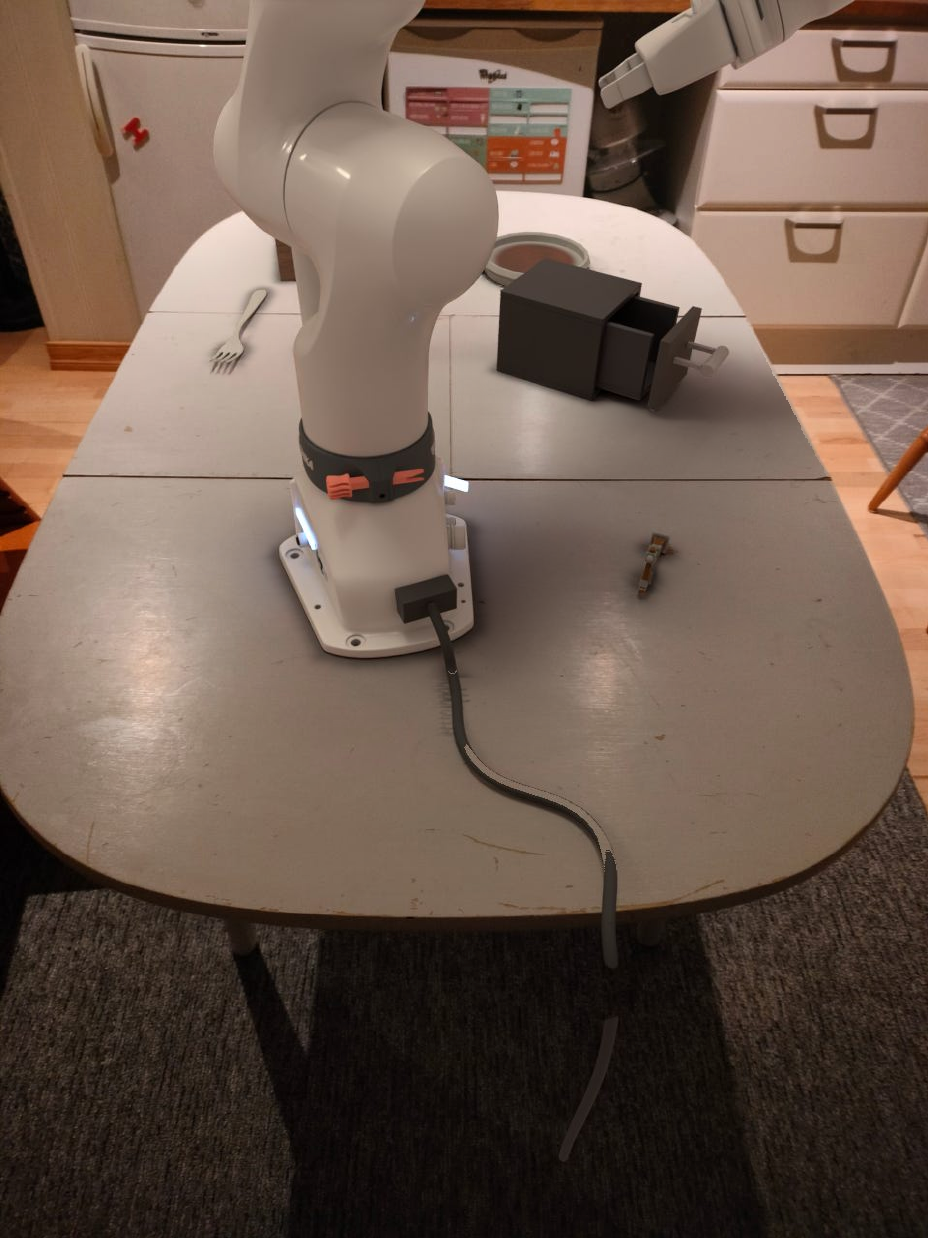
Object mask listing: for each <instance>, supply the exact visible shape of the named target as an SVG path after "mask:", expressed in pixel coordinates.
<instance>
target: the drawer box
mask: <svg viewBox="0 0 928 1238" xmlns="http://www.w3.org/2000/svg"><path fill="white" fill-rule="evenodd" d="M642 285H643V283H642V282H640V281H636V280H632V279H628V278H625V277H620V276H617V275H612V274H609V273H605V272H602V271H598V270H594V269H590V268H587V269H586V268H582V267H578V266H574V265H570V264H567V263H563V262H559V261H555V260H551V259H547V258H543V259H542V260H541V261H539V262H538V263H537V264H535V265H534V266H533V267H531V268H530V269H529V270H527V271H526V272H525V273H523V274H522V275H521V276H519V277H518V278H517V279H515V280H514V281H513V282H511V283H510V284H509V285H507V286H505V287H504V288H502V289H501V290H500V293H499V312H498V313H499V314H498V330H497V332H498V333H497V351H496V371H497V372H500V373H503V374H507V375H511V376H513V377H516V378H519V379H522V380H525V381H528V382H532V383H535V384H538V385H540V386H541V385H542V386H545V387H547V388H551V389H554V390H557V391H560V392H564V393H566V394H569V395H573V396H576V397H579V398H582V399H585V400H588V401H593V399H595V397H596V396H598V395H599V393H600V392H602V390H603V389H601V388H598V387H596V381H597V374H598V367H599V360H600V353H601V346H602V340H603V333H604V326H605V322H606V321H608V320H609V319H610V318H611V317H612V316H613V315H614V314H615V313H616V312H617V311H618V310H619V309H620V308H621V307H622V306H623V305H625V304H626V303H627V302H628V301H629V300H630V299H631V298H632V297H633V296H634V295H636V296H640V297H641V292H642V287H643V286H642Z"/></svg>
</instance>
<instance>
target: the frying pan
mask: <svg viewBox="0 0 928 1238" xmlns="http://www.w3.org/2000/svg"><path fill="white" fill-rule="evenodd" d="M543 258H547V259H551V260H555V261H559V262H563V263H567V264H570V265H574V266H578V267H582V268H586V269H588V268H589V265H590V264H591V260H590V255H589V253H588V250H587V249H586V248H585V247H584V246H583V245H582V244H581V243H579V242H577V241H575V240H573V239H572V238H569V237H566V236H563V235H559V234H556V233H549V232H543V231H542V232H541V231H520V232H511V233H510V232H509V233H506V234H502V235H499V236H497V238H496V242H495V246H494V249H493V252H492V255H491V257H490V259H489V262H488V264H487V266H486V267H485V269H484V272H485V274H486V275H487V277H488V278H489V279H491V280H492V281H494V282H495V283H497V284H499V285H502V286H505V287H506V286H507V285H509V284H510V283H511V282H513V281H514V280H515V279H517V278H518V277H519V276H521V275H522V274H523V273H525V272H526V271H527V270H529V269H530V268H531V267H533V266H534V265H535V264H537V263H538V262H539V261H541V260H542V259H543Z"/></svg>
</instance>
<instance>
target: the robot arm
mask: <svg viewBox="0 0 928 1238" xmlns="http://www.w3.org/2000/svg"><path fill="white" fill-rule="evenodd" d="M426 1H427V0H249V8H248V9H249V11H248V20H247V21H248V22H247V29H246V30H247V31H246V39H245V47H244V53H243V58H242V59H243V60H242V66H241V72H240V76H239V81H238V83H237V84H238V85H237V88H236V90H235V92H234V94H232V95H231V97H230V98H229V99H228V100H227V102H226V104H224V106H223V108H222V110H221V112H220V114H219V116H218V119H217V122H216V125H215V128H214V134H213V143H212V154H213V163H214V167H215V171H216V175H217V177H218V180H219V182H220V185H221V186H222V187H223V190H224V192H225V193H226V194H227V195H228V196H229V198H230V199H231V200H232V201H233V203H235V205H236V206H237V207H238V208H239V209H240V210H241V212H243V213H244V215H246V217H248V218H249V220H250V221H251V222H253V223H254V224H255V226H257V227H258V229H260V230H261V231H262V232H263V233H265V234H266V235H268V236H271V237H272V238H273V239H275V238H276V239H277V240H279V241H281V242H283V243H285V244H287V245H288V246H290V247H292V248H294V249H296V250H297V251H299V252H301V253H303V254H305V255H307V256H308V257H310V258H311V259H312V261H313V263H314V265H315V267H316V270H317V272H318V275H319V278H320V286H321V292H320V303H319V310H318V313H316V314H315V315H314V316H313V317H311V318H310V319H309V320H308V321H307V322H306V323H305V324H304V325H303V326H302V325H301V327H300V329H298V332H297V333H296V336H295V338H294V342H293V348H292V355H293V361H294V369H295V376H296V385H297V392H298V399H299V407H300V415H301V417H300V419H299V423H298V433H299V434H298V447H299V451H300V454H301V460H302V461H301V462H302V465H301V467H300V468H299V470H298V472H297V473H296V474H295V475H294V476H293V477H292V479H291V480H290V481H289V488H290V497H291V505H292V514H293V520H294V527H295V534H293V535H291V536H290V537H288V538H286V539H285V540H284V541H283V542H282V543H281V544H280V545H279V547H278V548H279V549H278V551H279V560H280V561H281V563H282V566H283V568H284V570H285V572H286V574H287V576H288V579H289V580H290V583H291V584H292V587H293V589H294V591H295V593H296V595H297V597H298V600H299V602H300V604H301V606H302V608H303V610H304V612H305V614H306V617H307V619H308V621H309V623H310V625H311V628H312V629H313V631H314V634H315V636H316V638H317V640H318V642H319V644H320V646H321V647H322V649H323V650H324V651H325V652H326V653H328V654H329V653H330V654H332V655H336V656H340V657H347V658H359V659H365V658H366V659H367V658H368V659H369V658H371V659H372V658H373V659H374V658H383V657H384V658H385V657H394V656H400V655H407V654H411V653H412V654H413V653H417V652H422V651H427V650H429V649H434V648H437V647H440V648H441V653H442V656H443V657H442V658H443V661H444V666H445V671H446V676H447V680H448V684H449V693H450V699H451V719H452V720H451V722H452V730H453V735H454V739H455V743H456V744H457V747H458V750H459V751H460V753H461V755H462V757H463V758H464V759H465V761H466V762H467V763H468V765H469V766H470V767H471V768H472V770H473V771H474V772H475V773H476V774H477V775H478V776H479V777H480V778H482V779H484V780H485V781H486V782H487V783H489V784H491V785H492V786H494V787H496V788H497V789H500V790H502V791H505V792H507V793H509V794H512V795H515V796H518V797H521V798H523V799H528V800H530V801H534V802H537V803H540V804H543V805H546V806H549V807H552V808H553V809H557V810H559V811H561V812H562V813H565V814H567V815H568V816H570V817H572V818H573V819H574V820H575V821H577V822H578V823H580V824H581V825H582V827H584V828H585V829H586V831H587V832H588V834H590V835H591V837H592V839H593V840H594V842H595V844H596V846H597V848H598V850H599V854H600V856H601V858H602V853H601V849H600V845H599V842H598V838H597V836H596V835H595V833H594V831H593V829H592V828H591V827H590V826H589V825H588V823H587V822H586V821H585V820H584V819H583V818H581V817H580V816H579V815H578V814H577V813H575V812H573V811H572V810H570V809H568V808H567V807H565V806H563V805H560V804H558V803H556V802H553V801H550V800H548V799H545V798H542V797H539V796H535V795H532V794H529V793H526V792H523V791H520V790H517V789H514V788H511V787H509V786H506V785H504V784H501V783H499V782H497V781H496V780H494V779H492V778H490V777H489V776H487V775H486V774H485V773H483V772H482V771H481V770H480V769H479V768H478V767H477V766H476V765H475V764H474V763H473V762H472V761H471V759H470V758H469V756H468V755H467V753H466V750H465V748H464V747H465V746H466V744H467V745H468V746H469V748H470V749H471V750H472V751H473V753H474V754H475V755H476V756H477V758H478V759H479V760H480V761H481V762H482V763H483V764H484V765H485V766H486V767H488V768H489V769H490V770H492V771H493V772H495V771H494V770H493V769H491V767H489V766H487V765H486V764H485V762H483V761H482V760H481V759H480V757H479V756H478V755H477V754H476V752H475V751H474V749H473V747H472V746H471V744H470V742H469V739H468V736H467V732H466V728H465V721H464V706H463V694H462V687H461V681H460V676H459V672H458V671H459V670H458V666H457V662H456V657H455V651H454V648H453V647H454V646H453V644H452V642H453V641H455V640H456V639H458V638H461V637H462V636H464V635H465V634H466V633H468V632H469V631H470V630H471V629H472V628H473V627H474V625H475V624H474V623H475V617H474V616H475V615H474V604H473V603H474V602H473V592H472V589H473V588H472V579H471V564H470V554H469V553H470V552H469V541H468V528H467V523H466V521H465V520H464V519H462V518H461V517H459V516H456V515H452V514H448V513H447V512H446V507H447V506H455V505H456V491H455V490H452V489H451V490H449V489H448V490H447V489H446V487H449V488H453V489H456V490H459V491H462V492H466V493H467V492H468V491H469V481H467V480H463V479H459V478H456V477H452V476H449V475H446V461H444V460H443V459H442V458H440V457H439V456H438V455H436V435H435V434H436V433H435V429H434V424H433V417H432V415H431V412H430V411H429V367H430V366H429V365H430V360H429V359H430V347H431V341H432V336H433V333H434V329H435V327H436V323H437V320H438V319H439V316H440V314H441V312H442V311H443V309H444V307H445V306H446V305H448V304H449V303H451V302H454V301H455V300H457V299H459V298H460V297H461V296H463V295H464V294H465V293H466V292H467V291H468V290H469V289H470V288H472V286H474V284H475V283H476V282H477V281H478V280H479V278H480V277H481V276H482V274H483V273H484V272H485V270H484V269H485V267H486V266H487V264H488V262H489V259H490V257H491V255H492V252H493V249H494V246H495V242H496V238H497V237H498V233H499V223H500V221H499V220H500V219H499V218H500V213H499V212H500V211H499V200H498V194H497V191H496V187H495V184H494V182H493V180H492V178H491V176H490V174H489V173H488V172H487V170H486V169H485V168H484V167H483V165H482V164H480V163H479V162H478V161H476V160H475V159H474V158H473V157H472V156H471V155H469V154H468V153H467V152H465V151H464V150H463V149H462V148H461V147H459V146H458V145H457V144H456V143H455V142H453V141H452V140H450V139H449V138H448V137H446V136H445V135H443V134H442V133H441V132H439V131H438V130H436V129H435V128H432V127H430V126H427V125H425V124H422V123H419V122H416V121H413V120H411V119H408V118H406V117H403V116H400V115H397V114H394V113H391V112H389V111H387V110H384V109H383V104H382V89H383V81H384V80H383V79H384V74H385V71H386V65H387V62H388V59H389V54H390V53H391V52H390V51H391V49H392V45H393V44H394V42H395V39H396V36H397V34H398V32H399V31H400V29H402V28H404V27H405V26H406V25H408V24H409V23H410V22H412V20H413V19H415V18H416V17H417V16H418V14H419V13H420V12H421V10H422V9H423V8H424V5H425V3H426ZM689 1H690V8H688V9H686V10H684V11H682V12H680V13H679V14H677V15H676V16H674V17H672V18H671V19H669V20H667V21H666V22H664V23H662V24H660V25H659V26H657V27H656V28H654V29H652V30H651V31H649V32H647V33H646V34H644V35H643V36H641V38H639V39H638V40H637V41H635V43H634V48H635V51H636V53H633V54H632V55H631V56H629V57H627V58H626V59H624V61H622V62H621V63H620V64H619V65H617V66H616V67H615V68H613V70H611V71H609V72H608V73H606V74H604V75H603V76H601V77H600V78H599V80H598V86H599V89H600V98H601V100H602V102H603V105H604V107H605V108H606V109H613V108H614V107H615V106H617V105H619V104H620V103H622V102H624V101H627V100H629V99H631V98H634V97H636V96H638V95H640V94H643V93H645V92H646V91H648V90H650V89H651V88H653V89H654V91H655V92H656V94H657V95H658V96H662V95H667V94H669V93H672V92H674V91H678V90H680V89H683V88H684V87H686V86H688V85H691V84H693V83H695V82H697V81H699V80H701V79H703V78H705V77H707V76H709V75H711V74H713V73H715V72H717V71H719V70H721V69H723V68H725V67H727V66H729V65H730V66H731V68H732V69H733V70H734V71H737V70H739V69H740V68H742V67H744V66H745V65H747V64H749V63H751V62H753V61H754V60H756V59H758V58H759V57H761V56H763V55H765V54H767V53H768V52H769V51H771V50H773V49H775V48H776V47H778V46H780V45H782V44H784V43H785V42H787V41H788V40H789V39H790V38H791V37H792V36H793V35H794V34H795V33H797V31H798V30H800V29H801V28H802V27H804V26H806V25H807V24H809V23H810V22H813V21H815V20H819V19H823V18H826V17H829V16H831V15H833V14H834V13H836V12H838V11H840V10H841V9H844V8H845V7H846V6H848V5H850V4H851V3H854V1H856V0H689ZM456 670H457V672H456V673H455V671H456ZM448 671H449V672H450V673H455V674H450V673H449V672H448ZM495 773H496V774H498V775H500V776H502V777H504V776H503V775H501V774H499V773H497V772H495ZM504 778H506V779H509V780H511V781H513V782H516V783H519V784H522V785H525V786H528V787H532V788H535V789H538V790H541V791H544V792H548V793H550V794H553V795H556V796H559V797H561V798H563V799H565V800H568V801H570V802H571V803H573V804H575V805H576V806H578V807H580V808H581V809H582V810H584V808H582V807H581V806H579V805H578V804H577V803H575V802H572V801H571V800H569V799H567V798H564V797H562V796H561V795H557V794H555V793H552V792H549V791H547V790H546V791H545V790H542V789H540V788H536V787H533V786H529V785H527V784H523V783H520V782H519V781H514V780H512V779H510V778H507V777H504ZM584 811H585V812H586V813H587V814H588V815H590V816H591V817H592V818H593V816H592V815H591V814H590V813H589V812H587V811H586V810H584ZM593 820H594V821H595V822H596V823H597V824H598V825H599V823H598V822H597V821H596V820H595V818H593ZM599 827H600V828H601V829H602V827H601V825H599ZM602 831H603V832H604V830H603V829H602ZM604 834H605V835H606V833H605V832H604ZM606 837H607V839H608V836H607V835H606ZM608 841H609V839H608ZM609 843H610V845H611V842H610V841H609ZM611 846H612V845H611ZM612 850H613V853H614V849H613V848H612ZM606 851H610V850H606ZM605 853H606V854H605V855H606V859H605V860H606V861H605V864H604V865H605V867H604V868H605V869H604V870H605V872H604V870H603V886H602V900H601V901H602V903H601V917H600V918H601V919H600V921H601V926H600V927H601V929H600V931H601V945H602V955H603V956H602V958H603V961H604V965H605V966H607V967H608V968H609V969H613V970H614V969H616V968H617V967H618V964H619V955H618V948H617V933H616V932H617V930H616V928H617V927H616V923H617V922H616V916H617V897H618V896H617V895H618V869H617V870H616V865H617V863H616V864H615V861H614V860H616V858H615V859H614V857H613V856H612V855H613V854H612V853H611V851H610V852H605ZM614 854H615V853H614ZM601 862H602V863H603V860H602V859H601ZM604 873H605V874H604ZM610 923H611V924H610ZM603 1022H604V1024H603V1029H602V1036H601V1042H600V1046H599V1050H598V1055H597V1058H596V1062H595V1065H594V1069H593V1071H592V1074H591V1077H590V1079H589V1082H588V1085H587V1087H586V1089H585V1092H584V1094H583V1096H582V1098H581V1101H580V1103H579V1105H578V1107H577V1110H576V1111H575V1114H574V1116H573V1118H572V1120H571V1122H570V1125H569V1127H568V1129H567V1132H566V1133H565V1136H564V1140H563V1141H562V1144H561V1147H560V1150H559V1153H558V1159H559V1161H561V1162H562V1163H563V1162H566V1161H567V1160H568V1158H569V1155H570V1153H571V1150H572V1148H573V1145H574V1143H575V1141H576V1139H577V1137H578V1135H579V1132H580V1130H581V1129H582V1126H583V1125H584V1122H585V1121H586V1118H587V1117H588V1115H589V1113H590V1111H591V1108H592V1106H593V1104H594V1102H595V1100H596V1099H597V1096H598V1093H599V1092H600V1089H601V1086H602V1084H603V1081H604V1079H605V1076H606V1073H607V1070H608V1067H609V1064H610V1061H611V1057H612V1053H613V1050H614V1045H615V1040H616V1035H617V1030H618V1024H619V1016H614V1017H610V1018H607V1019H604V1021H603Z"/></svg>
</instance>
